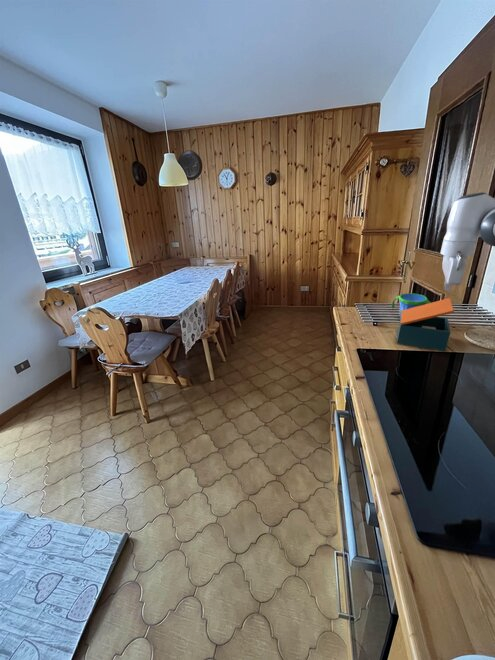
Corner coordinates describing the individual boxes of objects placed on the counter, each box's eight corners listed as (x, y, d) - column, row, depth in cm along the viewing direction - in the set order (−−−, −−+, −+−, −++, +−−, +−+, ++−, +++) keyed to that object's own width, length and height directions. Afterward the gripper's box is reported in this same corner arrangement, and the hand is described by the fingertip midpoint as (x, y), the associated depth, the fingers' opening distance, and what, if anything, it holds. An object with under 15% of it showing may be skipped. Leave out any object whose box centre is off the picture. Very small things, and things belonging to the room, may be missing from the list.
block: (432, 337, 108) (435, 327, 106) (433, 342, 105) (436, 332, 103) (419, 335, 110) (422, 325, 108) (419, 340, 107) (422, 330, 105)
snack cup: (385, 317, 128) (389, 296, 123) (396, 310, 133) (400, 290, 129) (422, 328, 117) (428, 305, 112) (432, 320, 122) (438, 298, 118)
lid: (450, 299, 104) (449, 297, 103) (454, 312, 94) (453, 310, 94) (402, 312, 113) (401, 310, 113) (401, 325, 103) (400, 323, 103)
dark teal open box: (442, 335, 110) (447, 318, 107) (445, 351, 100) (450, 332, 97) (398, 329, 117) (401, 312, 113) (396, 343, 107) (400, 325, 104)
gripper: (475, 256, 82) (462, 301, 88) (465, 243, 98) (454, 281, 104) (449, 255, 84) (438, 298, 91) (443, 242, 100) (434, 280, 107)
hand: (446, 289), depth 97 cm, fingers closed
